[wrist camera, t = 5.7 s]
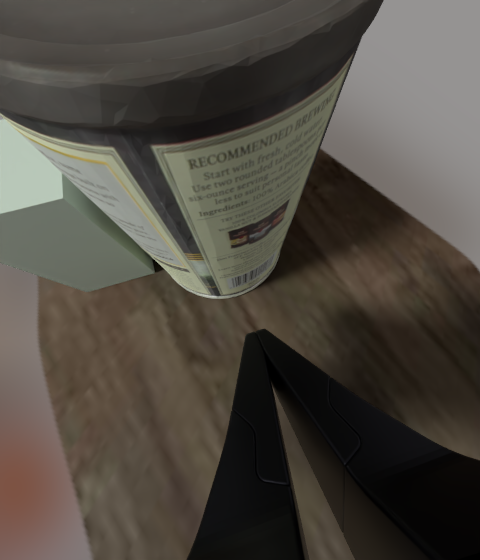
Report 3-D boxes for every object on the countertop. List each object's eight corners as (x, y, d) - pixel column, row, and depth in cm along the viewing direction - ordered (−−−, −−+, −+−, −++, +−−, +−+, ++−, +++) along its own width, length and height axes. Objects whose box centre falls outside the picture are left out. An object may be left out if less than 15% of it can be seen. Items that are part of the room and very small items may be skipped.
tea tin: (154, 272, 17) (63, 198, 8) (87, 292, 16) (-84, 234, 8) (144, 216, 18) (58, 105, 10) (82, 232, 18) (-63, 131, 10)
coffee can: (206, 175, 20) (128, -185, 6) (301, 224, 18) (475, -131, 5) (135, 258, 17) (-246, -48, 4) (238, 325, 15) (203, 199, 2)
